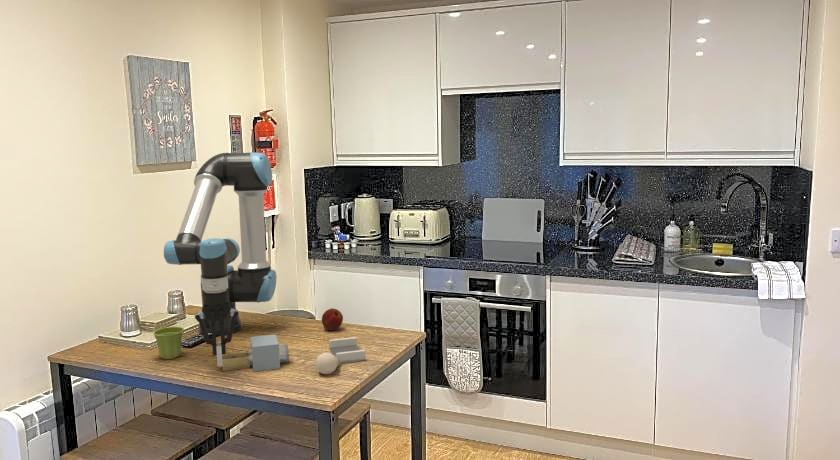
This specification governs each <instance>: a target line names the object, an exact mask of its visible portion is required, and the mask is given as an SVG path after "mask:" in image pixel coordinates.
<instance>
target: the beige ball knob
mask: <svg viewBox="0 0 840 460" xmlns="http://www.w3.org/2000/svg"><path fill="white" fill-rule="evenodd" d="M339 366H340V359H339V358H337V357H335V356H334V355H333V354H332V353H331V352H323V353H320V354H319V355H318V356H317V358H316V359H315V368H316V370H317V371H318V372H319V373H320V374H323V375H330V374H333V373H334V372H335V370H336V369H337V367H339Z"/></svg>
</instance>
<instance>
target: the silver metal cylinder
mask: <svg viewBox="0 0 840 460" xmlns="http://www.w3.org/2000/svg"><path fill="white" fill-rule="evenodd" d="M247 353H249V364H250V367H253V359H252V348H251V347H248V350H247ZM289 353H290V352H289V345H288V343H286V344H285V343H284V344H279V358H280V364H284V363H289V362H290V354H289Z"/></svg>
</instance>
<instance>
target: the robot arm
mask: <svg viewBox="0 0 840 460" xmlns="http://www.w3.org/2000/svg"><path fill="white" fill-rule="evenodd" d="M272 183H273V172H272V165H271V163H270V160H269V158H268V156H267V155H266V154H265V153H262V152H253V151H252V152H222V153H218V154H215V155H214V156H212V157H210V158H209V159H208V160H207V161H205V162H204V163H203V164H202V165H201V167H199V169H198V171H197V172H196V174H195V176H194V179H193V185H194V189H193V192H192V195H191V198H190V200H189V203H188V206H187V208H186V211H185V214H184V217H183V220H182V222H181V226H180V228H179V231H178V234H177V235H176V239H175V240H174V239H173V240H168V241H167V242H166V243H165V244H164V247H163V258H164V260H165V262H166V263H167V264H170V265H179V266H183V265H200V269H201V271H200V273H201V274H200V291H201V292H200V293H201V304H202V307H201V310H200V311H198V312H197V313H195V314H194V319H195V320H196V321H197V322H198V333H200V334H201V335H202V336H203V339H204V342H205V344H206V346H207V345H210V346H211V347H212V355H213V356H216V361H217V367H223V365H222V356H223V355H227V354H226V352H227V348H226V345H227V344H228V343H231V342H232V339H233V334H234V333H237V332H238V331H240V330H242V328H243V325H242V323H243V322H242V319H241V317H240V315H239V314H240V313H239V309H237V307H236V303H263V302H264V303H265V302H269V301H271V300H272V299H273V297H274V295H275V291H276V288H277V272H276V270H274V269H272V265H271V263H270V262H269V261H268V260H267V254H266V253H267V252H266V251H267V249H266V231H265V230H266V228H265V227H266V226H265V225H266V224H265V205H264V203H265V202H264V195H265V193H266V192H267V191H268V186H271V185H272ZM225 186H229V187H230V186H233V192H234V193H235V194H236V195H237V196H238V206H239V207H238V210H239V227H240V228H239V229H240V231H239V233H240V245H239V244H238V242H237V241H236V240H234V239H233V238H207V239H203V237H204V233H205V231H206V227H207V225H208V223H209V219H210V215H211V212H212V210H213V207H214V204H215V200H216V197H217V195H218V194H219V193H220V192H221V191H222V189H223V187H225ZM240 252H241V253H240ZM240 254H241V262H240V263H239V264H238V265H237V270H235V268H234V266H233V265H229V264H231V263H233V262H234V261H236V259H237V258H238V257H239V255H240ZM208 333H212V336H211V339H210V335H208ZM225 335H227V336H225ZM217 336H220V342H217Z"/></svg>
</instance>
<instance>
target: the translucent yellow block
mask: <svg viewBox="0 0 840 460" xmlns="http://www.w3.org/2000/svg"><path fill="white" fill-rule="evenodd" d="M222 365H223V366H222V371H232V370H241V369H248V368H249V369H250V367H251V366H250V364H249V352H243V353H235V354H233V353H232V354H224V355H222Z"/></svg>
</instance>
